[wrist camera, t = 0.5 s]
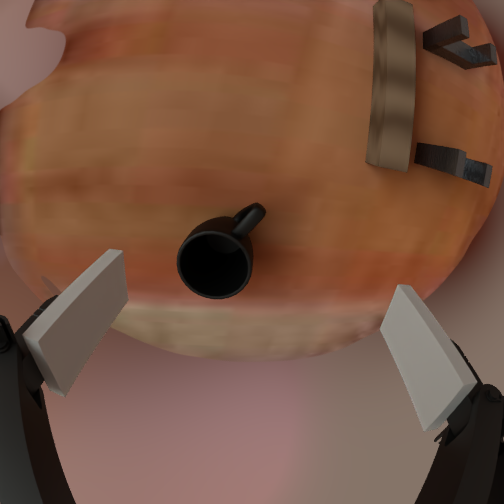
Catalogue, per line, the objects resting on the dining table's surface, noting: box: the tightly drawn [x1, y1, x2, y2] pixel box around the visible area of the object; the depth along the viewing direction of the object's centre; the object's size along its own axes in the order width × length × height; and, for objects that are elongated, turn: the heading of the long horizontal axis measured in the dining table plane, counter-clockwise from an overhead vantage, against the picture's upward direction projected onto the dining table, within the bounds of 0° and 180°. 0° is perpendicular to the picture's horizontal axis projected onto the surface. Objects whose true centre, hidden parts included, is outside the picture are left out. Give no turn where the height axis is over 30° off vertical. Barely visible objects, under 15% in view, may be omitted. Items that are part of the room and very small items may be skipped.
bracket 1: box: [423, 15, 497, 70], centre depth 20 cm, size 3×8×10 cm, turn 84°
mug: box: [177, 203, 266, 299], centre depth 33 cm, size 8×12×10 cm
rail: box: [365, 0, 416, 173], centre depth 26 cm, size 24×4×5 cm, turn 176°
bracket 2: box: [414, 143, 493, 188], centre depth 27 cm, size 3×8×10 cm, turn 84°
